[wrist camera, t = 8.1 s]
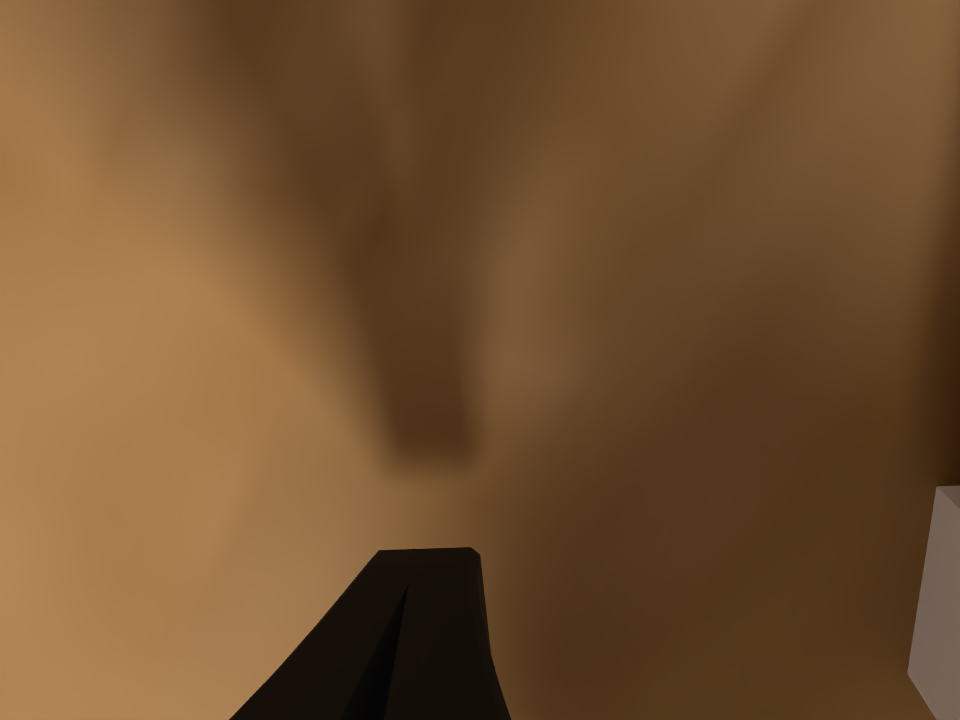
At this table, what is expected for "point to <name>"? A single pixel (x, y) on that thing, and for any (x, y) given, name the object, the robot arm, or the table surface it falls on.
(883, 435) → the table surface
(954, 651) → the bracket
